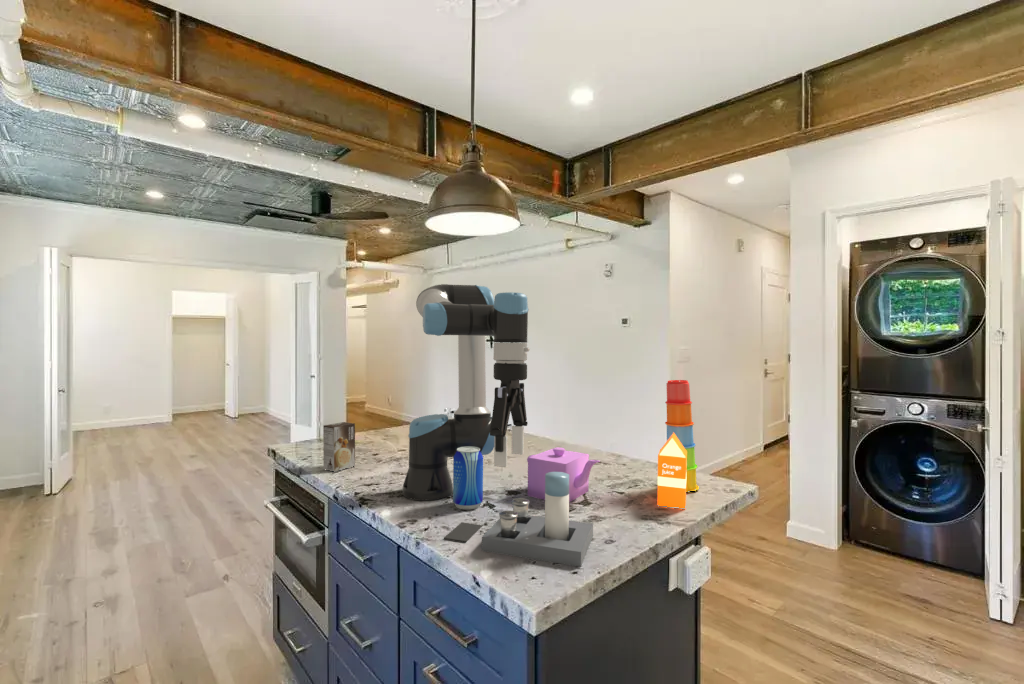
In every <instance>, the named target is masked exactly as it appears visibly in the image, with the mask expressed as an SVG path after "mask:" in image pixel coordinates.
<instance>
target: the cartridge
mask: <svg viewBox="0 0 1024 684" xmlns="http://www.w3.org/2000/svg"><path fill="white" fill-rule="evenodd" d="M569 516H570V502H569V474H567V473H564V472H549V473H546V474H545V500H544V517H545V538H550V539H557V540H564V541H569V521H570V517H569Z"/></svg>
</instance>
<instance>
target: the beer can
mask: <svg viewBox="0 0 1024 684" xmlns="http://www.w3.org/2000/svg"><path fill="white" fill-rule="evenodd" d="M452 459H453V460H452V462H453V463H452V464H453V469H452V474H453V475H452V479H453V480H452V484H453V492H452V502H453V504H454V505H455V507H456V508H457V509H460V510H475V509H477V508H478V509H479V508H480V507H481V504H482V503H483V502H484V495H483V494H484V455H482V454H481V452H480V448H478V447H471V446H466V447H460V448H457V452H456V454H455V455H454V457H452Z"/></svg>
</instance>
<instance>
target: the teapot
mask: <svg viewBox="0 0 1024 684" xmlns="http://www.w3.org/2000/svg"><path fill="white" fill-rule="evenodd" d="M589 458H590V455H589V453H583V452H578V451H572V450H571V451H570V450H566V449H565V448H564V447H558V446H557V447H553V448H551V449H547V450H545V451H542V452H539V453H537V454H531V455H529V456H527V458H526V462H527V496H528V497H531V498H535V499H538V500H544V501H545V474H546V473H549V472H564V473H567V474H569V503H571V502H572V501H574V500H576V499H577V498H579V497H581V496H583V495H584V494H586V493H588V492H589V483H590V482H589V479H590V474H591V470H592V467H594V465H595V464H598V463H600V462H601V460H598V459H589Z"/></svg>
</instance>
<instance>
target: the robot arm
mask: <svg viewBox="0 0 1024 684" xmlns="http://www.w3.org/2000/svg"><path fill="white" fill-rule="evenodd" d="M494 295H495V296H494ZM494 295H493V293H492V290H491V289H490V288H489V287H488V286H484V285H482V286H481V285H477V284H475V285H474V284H447V283H441V284H435V285H431V286H429V287H427V288H425V289H424V290H422V291H421V292H420V293H419V294H418V296H417V299H416V303H415V304H416V310H417V312H418V314H419V315H420V316H421V317H422V328H423V329H422V330H423V332H424V334H426V335H428V336H437V337H439V336H440V337H441V336H457V337H458V338H457V339H458V340H457V345H458V347H457V349H458V350H457V351H458V354H457V355H458V356H457V357H458V364H457V365H458V366H457V367H458V408H457V409H456V410H455V411H454V413H453V418H449V416H448V415H447V414H444V413H443V414H442V413H441V414H438V413H435V414H428V415H423V416H421V417H420V416H419V417H416V418H415V419H413V420H411V421H410V423H409V432H408V439H409V441H408V443H409V444H408V468H407V472H406V476H405V478H404V481H403V485H402V495H403V497H405V498H407V499H410V500H415V501H435V500H439V499H444V498H447V497H449V496H451V494H452V495H453V480H452V478H451V475H450V471H449V468H448V458H453V457H454V455H455V454H456V452H457V448H460V447H466V446H471V447H478V448H480V452H481V454H482V455H483V456H486V455H489V454H491V453H492V452H493V451H494V453H493V467H499V468H508V435H507V432H508V431H507V430H508V425H509V420H510V415H511V420H512V423H513V425H512V426H511V455H520V456H521V455H522V456H523V455H524V445H525V444H524V442H525V441H524V440H525V439H524V435H525V433H524V432H525V430H524V427H527V426H528V425H529V424H528V421H527V409H526V407H527V406H526V399H525V383H524V382H520V381H525V380H527V378H528V364H527V363H525V362H526V361H527V360H528V352H529V351H530V348H529V347H528V327H529V326H528V325H529V324H528V313H529V304H528V302H529V301H528V297H527V296H528V295H526V294H525V293H523V292H513V291H511V292H510V291H509V292H507V291H506V292H499V293H496V294H494ZM487 336H489V337H493V360H494V361H495V362H494V363H493V379H494V380H495V381H500V387H495V388H494V399H493V405H492V406H493V407H492V408H493V409H492V412H491V411H490V410H489V409H488V408H487V404H486V403H487V401H486V400H487V399H486V398H487V397H486V396H487V395H486V392H487V391H486V386H487V385H486V383H487V382H486V337H487ZM491 413H492V415H491Z"/></svg>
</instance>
